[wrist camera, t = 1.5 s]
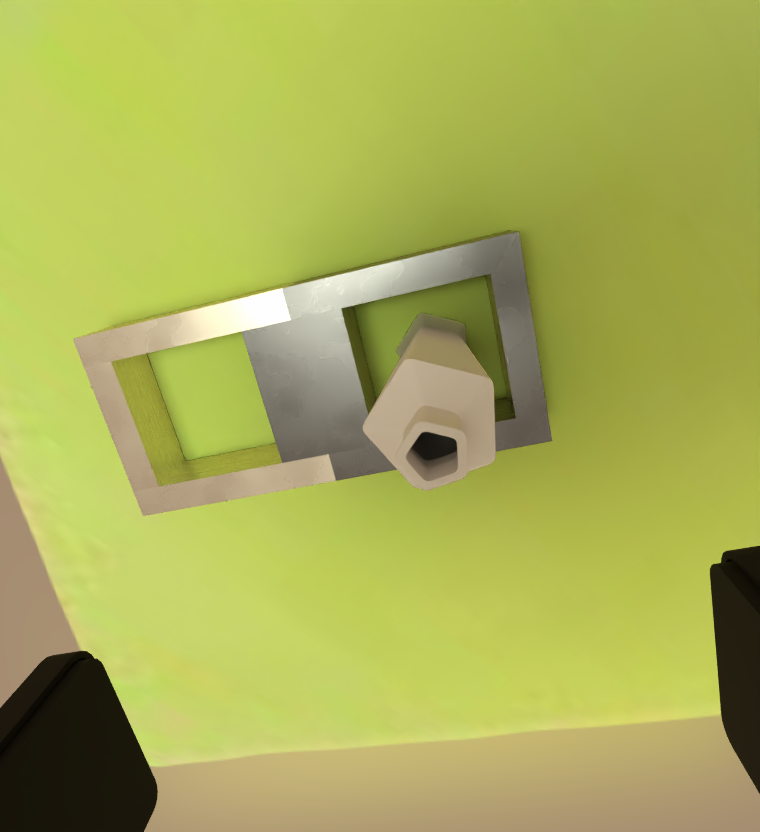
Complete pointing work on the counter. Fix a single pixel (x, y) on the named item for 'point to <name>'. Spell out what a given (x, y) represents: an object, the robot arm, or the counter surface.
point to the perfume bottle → (435, 407)
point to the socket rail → (304, 376)
